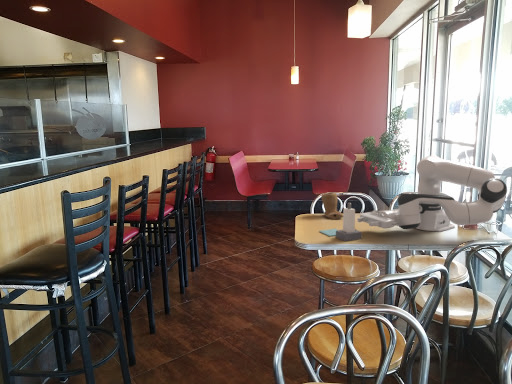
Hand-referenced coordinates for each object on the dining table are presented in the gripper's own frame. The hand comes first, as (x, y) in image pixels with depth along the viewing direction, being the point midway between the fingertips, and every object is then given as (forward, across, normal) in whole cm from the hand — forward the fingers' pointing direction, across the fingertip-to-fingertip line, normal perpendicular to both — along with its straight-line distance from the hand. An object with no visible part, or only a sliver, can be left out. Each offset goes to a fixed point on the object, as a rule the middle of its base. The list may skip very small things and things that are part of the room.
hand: (363, 222), depth 206 cm
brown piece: (-10, +43, -7) cm, 45 cm away
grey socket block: (+8, +1, -7) cm, 11 cm away
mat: (+10, +12, -7) cm, 18 cm away
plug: (+8, +1, -7) cm, 11 cm away
